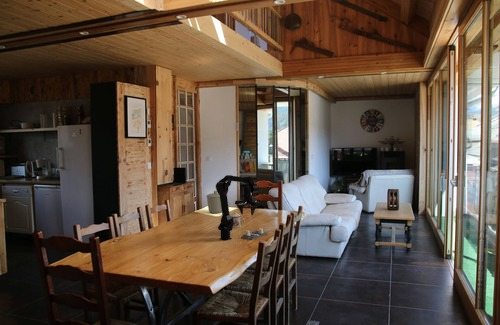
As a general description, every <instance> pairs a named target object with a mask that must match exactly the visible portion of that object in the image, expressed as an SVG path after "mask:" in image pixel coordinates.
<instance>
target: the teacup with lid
mask: <svg viewBox="0 0 500 325" xmlns="http://www.w3.org/2000/svg"><path fill="white" fill-rule="evenodd" d="M241 215H242V214H238V213H237V212H236V211H234V212H233V213H232V214H230V216H233V221H234V222H233V228H232V229H240V228H241V226H242V225H244V223H245V222H246V221H245V218H244V217H241ZM241 219H242V220H243V222H242V220H241Z"/></svg>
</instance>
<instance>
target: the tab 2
mask: <svg viewBox="0 0 500 325" xmlns="http://www.w3.org/2000/svg"><path fill="white" fill-rule="evenodd" d="M258 231H259V232H258V233H264V232H265V231H264V228H258Z"/></svg>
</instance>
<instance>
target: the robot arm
mask: <svg viewBox="0 0 500 325" xmlns="http://www.w3.org/2000/svg"><path fill="white" fill-rule="evenodd" d="M232 182H237V183H240V184H242V185H241V186H240V188H241V189H242V195H241V197H242V199H237V200H235V201H234V205H235V206H237V208H238V210H239V212H240V215H243V214H244V206H245V205H250V207H249V208H250V215H251V217H253V216H254V214H255V210H256V208H258V207H259V206H260V201H257V198H256V197H253V194H254V193H258V192H259V191H260V188H259V185H258V183H255V182H254V179H253V177H251V176H247V175H242V176H235V175H233V174H232V175H231V174H226V175H225V176H224V177H223V178H221V179H219V180H218V181H217V182H216V184H215V189H216V190H215V191H217V193H218V194H219V195H220V202H221V209H222V213H221V217H220V223H219V225H218V227H217V229H218V231H220V238H219V240H220V241H229V240H232V239H233V238H232V237H231V232H232V231H233V229H234V228H233V222H234V221H233V216H230V215H231V213H230V210H229V209H230V208H229V207H230V206H229V201H228V193H229V187H230V186H231V185H232V184H231V183H232Z"/></svg>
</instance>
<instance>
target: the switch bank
mask: <svg viewBox="0 0 500 325" xmlns="http://www.w3.org/2000/svg"><path fill="white" fill-rule="evenodd" d="M258 232H259V230H254V231H252V232H250V234H251V236H248V235H245V233H244V234H242V236H241V239H244V240H249V241H254V240H256V239H258V238H262V237H264V236H267V235H268V232H267V231H263V232H264V233H258Z"/></svg>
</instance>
